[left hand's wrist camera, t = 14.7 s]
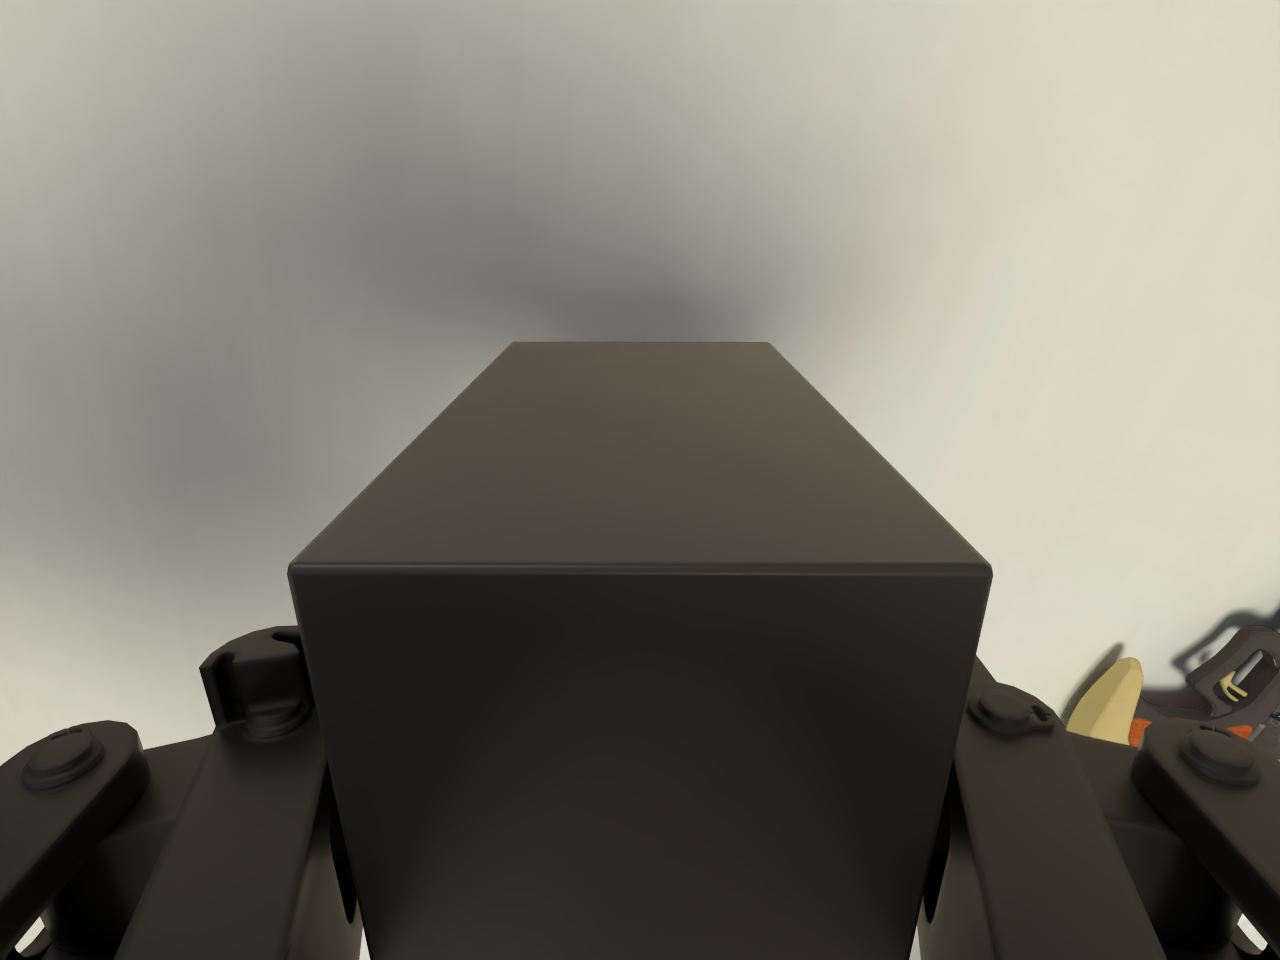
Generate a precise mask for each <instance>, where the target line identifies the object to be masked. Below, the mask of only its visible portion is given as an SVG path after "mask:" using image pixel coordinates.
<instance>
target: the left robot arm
mask: <svg viewBox="0 0 1280 960" xmlns="http://www.w3.org/2000/svg"><path fill="white" fill-rule="evenodd" d="M199 670H200V673H201V677H202V680H203V684H204V687H205V690H206V694H207V697H208V701H209V704H210V708H211V711H212V715H213V718H214V721H215V725H216V727H215V729H214V732H213V734H211V735H208V736H204V737H200V738H197V739H192V740H187V741H183V742H178V743H173V744H169V745H164V746H159V747H155V748H150V749H146V750H143V747H142V744H141V741H140V738H139V735H138V733H137V731H136V730H135V729H134V728H132V727H131V726H130V725H129V724H127V723H124V722H116V721H109V720H106V721H99V722H92V723H84V724H80V725H77V726H73V727H70V728H68V729H63V730H60V731H58V732H55V733H52V734H51V735H49V736H47V737H45V738H43V739H41V740H39V741H37V742H35V743H33V744H31V745H29V746H27V747H26V748H24V749H23V750H22V751H20V752H19V753H17V754H16V755H15V756H13V757H12V758H10V759H9V760H8V761H6V762H5V763H4V764H2V765H1V766H0V960H359V956H360V947H361V938H362V929H363V923H362V918H361V914H360V909H359V904H358V900H357V895H356V890H355V886H354V881H353V877H352V872H351V867H350V863H349V858H348V853H347V849H346V844H345V840H344V835H343V830H342V826H341V821H340V816H339V812H338V807H337V803H336V798H335V793H334V789H333V784H332V779H331V775H330V770H329V766H328V761H327V756H326V752H325V747H324V742H323V738H322V733H321V729H320V724H319V719H318V715H317V710H316V705H315V701H314V696H313V692H312V687H311V682H310V678H309V673H308V668H307V664H306V659H305V655H304V650H303V645H302V641H301V636H300V631H299V627H298V626H276V627H271V628H267V629H263V630H258V631H254V632H251V633H248V634H246V635H244V636H241V637H239V638H236V639H234V640H231V641H229V642H228V643H226V644H225V645H223V646H222V647H220V648H219V649H217V650H216V651H214V652H213V653H211V654H210V655H209V656H208V657H207V659H206V660H205V661H204V662H203V663H202V664H201V666H200V667H199ZM1242 913H1243V914H1244V915H1245V916H1246V918H1247V919H1248V920H1249V921H1250V922H1251V924H1252V925H1253V926H1254V927H1255V928H1256V930H1257V931H1258V932H1259V933H1260V934H1261V936H1262V937H1263V938H1264V939H1265V940H1266V942H1267V943H1268V944H1267V946H1266V948H1265V949H1264V950H1263V951H1262V950H1260V949H1259V948H1258V947H1257V946H1256V945H1255V944H1254V943H1253V942H1252V941H1251V940H1250V939H1249V938H1248V937H1247V936H1246V935H1245V933H1244V932H1243V931H1242V930H1241V928H1240V927H1239V926H1238V925H1237V923H1238V921H1239V919H1240V917H1241V915H1242ZM39 916H40V917H41V919H42V922H43V924H44V926H45V927H44V928H43V930H42V931H41V932H40V933H39V935H38V936H37V937H36V938H35V939H34V941H33V942H32V943H31V944H30V945H28V946H27V947H26V948H25V949H24V950H23V951H22V952H21V953H19V952H17V951H16V949H15V945H16V944H17V943H18V942H19V941H20V939H21V938H22V937H23V936H24V934H25V933H26V932H27V931H28V930H29V928H30V927H31V926H32V925H33V924H34V922H35V921H36V920H37V919H38V917H39ZM917 927H918V936H919V945H920V954H921V960H1280V761H1279V760H1277V759H1276V758H1274V757H1273V756H1272V755H1270V754H1269V753H1267V752H1266V751H1265V750H1263V749H1262V748H1260V747H1259V746H1258V745H1256V744H1255V743H1253V742H1251V741H1249V740H1247V739H1245V738H1243V737H1241V736H1239V735H1237V734H1235V733H1233V732H1231V731H1229V730H1227V729H1224V728H1221V727H1219V726H1214V725H1212V724H1209V723H1205V722H1201V721H1197V720H1189V719H1182V718H1175V717H1174V718H1166V719H1159V720H1154V721H1153V722H1152V723H1151V724H1149V725H1148V726H1147V727H1146V728H1145V729H1144V732H1143V734H1142V737H1141V740H1140V743H1139V746H1138V747H1135V746H1130V745H1125V744H1121V743H1116V742H1112V741H1107V740H1102V739H1098V738H1093V737H1088V736H1084V735H1080V734H1076V733H1073V732H1069V731H1067V730H1066V728H1065V726H1064V724H1063V723H1062V722H1061V720H1060V719H1059V717H1058V716H1057V715H1056V713H1055V712H1054V711H1053V710H1052V709H1051V708H1050V707H1048V706H1047V705H1046V704H1044V703H1043V702H1042V701H1040V700H1039V699H1038V698H1036V697H1035V696H1033V695H1031V694H1029V693H1026V692H1024V691H1022V690H1020V689H1018V688H1016V687H1014V686H1010V685H1006V684H1002V683H998V682H996V681H995V679H994V678H993V677H992V675H991V674H990V673H989V671H988V670H987V669H986V667H985V666H984V665H983V663H982V662H981V661H980V659H979V658H978V657H977V656H975V660H974V665H973V669H972V674H971V679H970V683H969V688H968V692H967V697H966V701H965V706H964V711H963V715H962V720H961V724H960V729H959V733H958V738H957V743H956V747H955V752H954V756H953V761H952V765H951V770H950V775H949V779H948V784H947V788H946V793H945V797H944V802H943V807H942V811H941V816H940V820H939V825H938V830H937V834H936V839H935V843H934V848H933V852H932V857H931V862H930V866H929V871H928V875H927V880H926V884H925V889H924V894H923V898H922V903H921V907H920V912H919V916H918V921H917Z"/></svg>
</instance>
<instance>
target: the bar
mask: <svg viewBox="0 0 1280 960" xmlns="http://www.w3.org/2000/svg"><path fill="white" fill-rule="evenodd" d="M287 576H288V581H289V585H290V590H291V594H292V599H293V604H294V608H295V613H296V618H297V622H298V627H299V631H300V636H301V641H302V645H303V650H304V655H305V659H306V664H307V668H308V673H309V678H310V682H311V687H312V692H313V696H314V701H315V705H316V710H317V715H318V719H319V724H320V729H321V733H322V738H323V742H324V747H325V752H326V756H327V761H328V766H329V770H330V775H331V779H332V784H333V789H334V793H335V798H336V803H337V807H338V812H339V816H340V821H341V826H342V830H343V835H344V840H345V844H346V849H347V853H348V858H349V863H350V867H351V872H352V877H353V881H354V886H355V890H356V895H357V900H358V904H359V909H360V914H361V918H362V923H363V927H364V932H365V937H366V941H367V946H368V951H369V955H370V960H909V958H910V953H911V948H912V944H913V939H914V935H915V930H916V926H917V921H918V916H919V912H920V907H921V903H922V898H923V894H924V889H925V884H926V880H927V875H928V871H929V866H930V862H931V857H932V852H933V848H934V843H935V839H936V834H937V830H938V825H939V820H940V816H941V811H942V807H943V802H944V797H945V793H946V788H947V784H948V779H949V775H950V770H951V765H952V761H953V756H954V752H955V747H956V743H957V738H958V733H959V729H960V724H961V720H962V715H963V711H964V706H965V701H966V697H967V692H968V688H969V683H970V679H971V674H972V669H973V665H974V660H975V656H976V651H977V647H978V642H979V637H980V633H981V628H982V624H983V619H984V615H985V610H986V605H987V601H988V596H989V592H990V587H991V582H992V578H993V572H992V567H991V565H990V564H989V563H988V562H987V561H986V560H985V559H984V558H983V557H982V556H981V555H980V554H979V553H978V552H977V551H976V550H975V549H974V548H973V547H972V546H971V545H970V544H969V542H968V541H967V540H966V539H965V538H964V537H963V536H962V535H961V534H960V533H959V532H958V531H957V530H956V529H955V528H954V527H953V526H952V525H951V524H950V523H949V522H948V521H947V520H946V519H945V518H944V517H943V516H942V515H941V514H940V513H939V512H938V511H937V510H936V509H935V508H934V507H933V506H932V505H931V504H930V503H929V502H928V501H927V500H926V499H925V498H924V497H923V496H922V495H921V494H920V493H919V492H918V491H917V490H916V489H915V488H914V487H913V486H912V485H911V484H910V483H909V482H908V481H907V480H906V479H905V478H904V477H903V476H902V475H901V474H900V473H899V472H898V471H897V470H896V469H895V468H894V467H893V466H892V465H891V464H890V463H889V462H888V461H887V460H886V459H885V458H884V457H883V456H882V455H881V454H880V453H879V452H878V451H877V450H876V449H875V448H874V447H873V446H872V445H871V444H870V443H869V442H868V441H867V440H866V439H865V438H864V437H863V436H862V435H861V434H860V433H859V432H858V431H857V430H856V429H855V428H854V427H853V426H852V425H851V424H850V423H849V422H848V421H847V420H846V419H845V418H844V417H843V416H842V415H841V414H840V413H839V412H838V411H837V410H836V409H835V408H834V407H833V406H832V405H831V404H830V403H829V402H828V401H827V400H826V399H825V398H824V397H823V396H822V395H821V394H820V393H819V392H818V391H817V390H816V389H815V388H814V387H813V386H812V385H811V384H810V383H809V382H808V381H807V380H806V379H805V378H804V377H803V376H802V375H801V374H800V373H799V372H798V371H797V370H796V369H795V368H794V367H793V366H792V365H791V364H790V363H789V362H788V361H787V360H786V359H785V358H784V357H783V356H782V355H781V354H780V353H779V352H778V351H777V350H776V349H775V348H774V347H773V346H772V345H771V344H770V343H768V342H513V343H511V344H510V345H509V346H508V347H507V348H506V349H505V350H504V351H503V352H502V353H501V354H500V355H499V356H498V357H497V358H496V359H495V360H494V361H493V362H492V363H491V364H490V365H489V366H488V367H487V368H486V369H485V370H484V371H483V372H482V373H481V374H480V375H479V376H478V377H477V378H476V379H475V380H474V381H473V382H472V383H471V384H470V385H469V386H468V387H467V388H466V389H465V390H464V391H463V392H462V393H461V394H460V395H459V396H458V397H457V398H456V399H455V400H454V401H453V402H452V403H451V404H450V405H449V406H448V407H447V408H446V409H445V410H444V411H443V412H442V413H441V414H440V415H439V416H438V417H437V418H436V419H435V420H434V421H433V422H432V423H431V424H430V425H429V426H428V427H427V428H426V429H425V430H424V431H423V432H422V433H421V434H420V435H419V436H418V437H417V438H416V439H415V440H414V441H413V442H412V443H411V444H410V445H409V446H408V447H406V448H405V449H404V450H403V451H402V452H401V453H400V454H399V455H398V456H397V457H396V458H395V459H394V460H393V461H392V462H391V463H390V464H389V465H388V466H387V467H386V468H385V469H384V470H383V471H382V472H381V473H380V474H379V475H378V476H377V477H376V478H375V479H374V480H373V481H372V482H371V483H370V484H369V485H368V486H367V487H366V488H365V489H364V490H363V491H362V492H361V493H360V494H359V495H358V496H357V497H356V498H355V499H354V500H353V501H352V502H351V503H350V504H349V505H348V506H347V507H346V508H345V509H344V510H343V511H342V512H341V513H340V514H339V515H338V516H337V517H336V518H335V519H334V520H333V521H332V522H331V523H330V524H329V525H328V526H327V527H326V528H325V529H324V530H323V531H322V532H321V533H320V534H319V535H318V536H317V537H316V538H315V539H314V540H313V541H312V542H311V543H310V544H309V545H308V546H307V547H306V548H305V549H304V550H303V551H302V552H301V553H300V554H299V555H298V556H297V557H296V558H295V559H294V560H293V561H291V562H290V563H289V567H288V572H287Z"/></svg>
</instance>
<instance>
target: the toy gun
mask: <svg viewBox="0 0 1280 960" xmlns="http://www.w3.org/2000/svg"><path fill="white" fill-rule="evenodd" d="M1258 649H1261V652H1262V654H1263V657H1262V658H1261V660H1260V661H1259V662H1258V663H1257V664H1256V665H1255V667H1254V668H1253V669H1252V670H1251V671H1250V672H1249V673H1248V675H1247V676H1246V677H1245V678H1244V679H1243V680H1242V681H1241V682H1240V684H1239V685H1238V686H1237V687H1236V686H1235V685H1233V684H1232V683H1231V679H1232V677H1233V675H1234V673H1235V671H1234V670H1235V669H1236V668H1238V667H1239V666H1240V665H1241V664H1242V663H1244V662H1245V661H1246V660H1247V659H1248V658H1249V656H1250V655H1251V654H1252V653H1253V652H1255V651H1256V650H1258ZM1185 680H1186V682H1187V683H1188V684H1190V685H1191V686H1192V687H1193V688H1195V689H1196V690H1197V691H1198V692H1199V693H1200V694H1201V696H1202V697H1203V700H1204V701H1203V704H1202V705H1200V706H1196V707H1168V706H1158V705H1153V704H1151V703H1148V702H1147V701H1145V700H1143V699H1142V698H1141V697H1140V692H1141V688H1142V684H1143V673H1142V669H1141V665H1140V662H1139V661H1138V660H1137V659H1135V658H1130V657H1128V658H1124V659H1120V660H1118V661H1117V662H1116V663H1115V664H1114V665H1113V666H1112V667H1111V668H1109V669H1108V670H1107V671H1106V672H1105V673H1104V674H1103V675H1102V676H1101V677H1100V678H1099V679H1098V680H1097V681H1096V682H1095V684H1094V685H1093V686H1092V687H1091V688H1090V689H1089V690H1088V691H1087V692H1086V694H1085V695H1084V696H1083V697H1082V698H1081V700H1080V701H1079V703H1078V705H1077V706H1076V708H1075V709H1074V711H1073V713H1072V715H1071V717H1070V719H1069V722H1068V725H1067V728H1066V730H1067V731H1069V732H1073V733H1076V734H1080V735H1084V736H1088V737H1093V738H1098V739H1102V740H1107V741H1112V742H1116V743H1121V744H1125V745H1130V746H1135V747H1138V746H1139V743H1140V740H1141V737H1142V734H1143V732H1144V729H1145V728H1146V727H1147V726H1148V725H1149V724H1151V723H1152V722H1153V721H1154V720H1159V719H1166V718H1174V717H1175V718H1182V719H1189V720H1197V721H1201V722H1205V723H1209V724H1212V725H1214V726H1219V727H1221V728H1224V729H1227V730H1229V731H1231V732H1233V733H1235V734H1237V735H1239V736H1241V737H1243V738H1245V739H1247V740H1249V741H1251V742H1253V743H1255V744H1256V745H1258V746H1259V747H1260V748H1262V749H1263V750H1265V751H1266V752H1267V753H1269V754H1270V755H1272V756H1273V757H1274V758H1276V759H1277V760H1279V761H1280V718H1279V717H1278V716H1280V712H1275V713H1273V711H1274V710H1275V708H1276V707H1277V706H1278V705H1279V704H1280V633H1278V632H1276V631H1274V630H1273V629H1271V628H1269V627H1266V626H1262V625H1252V626H1246V627H1243V628H1242V629H1240V630H1239V631H1238V632H1237V633H1236V634H1235V635H1234V636H1233V638H1232V639H1231V640H1230V641H1229V642H1228V643H1227V644H1226V645H1225V647H1224V648H1223V649H1222V650H1220V651H1219V652H1218V653H1217V654H1216V655H1215V656H1213V657H1212V658H1211V659H1210V660H1208V661H1207V662H1205V663H1204V664H1202V665H1201V666H1200V667H1198V668H1197V669H1195V670H1194V671H1192V672H1191V673H1189V674H1188V675H1187V676H1186V678H1185ZM1217 682H1219V683H1220V686H1221V688H1222V690H1223V692H1224V693H1225V694H1226V696H1223V697H1221V698H1218V697H1216V695H1215V693H1214V691H1213V686H1214V685H1215V684H1216V683H1217ZM1228 686H1229V687H1231V688H1232V689H1233V691H1232V692H1230V693H1229V692H1228V690H1227V687H1228Z"/></svg>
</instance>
